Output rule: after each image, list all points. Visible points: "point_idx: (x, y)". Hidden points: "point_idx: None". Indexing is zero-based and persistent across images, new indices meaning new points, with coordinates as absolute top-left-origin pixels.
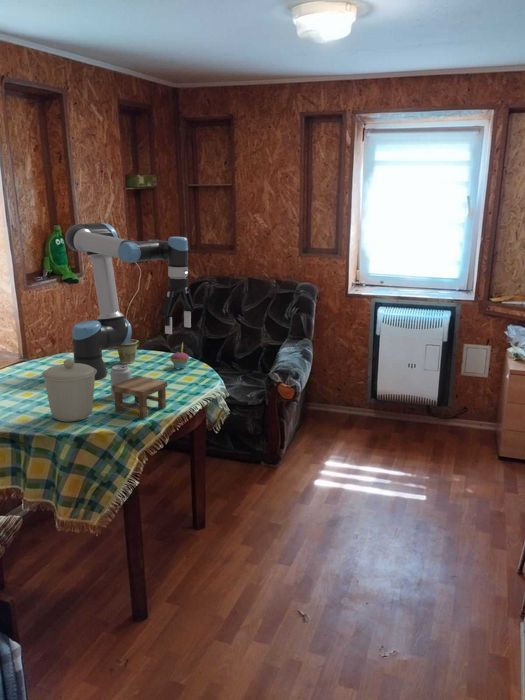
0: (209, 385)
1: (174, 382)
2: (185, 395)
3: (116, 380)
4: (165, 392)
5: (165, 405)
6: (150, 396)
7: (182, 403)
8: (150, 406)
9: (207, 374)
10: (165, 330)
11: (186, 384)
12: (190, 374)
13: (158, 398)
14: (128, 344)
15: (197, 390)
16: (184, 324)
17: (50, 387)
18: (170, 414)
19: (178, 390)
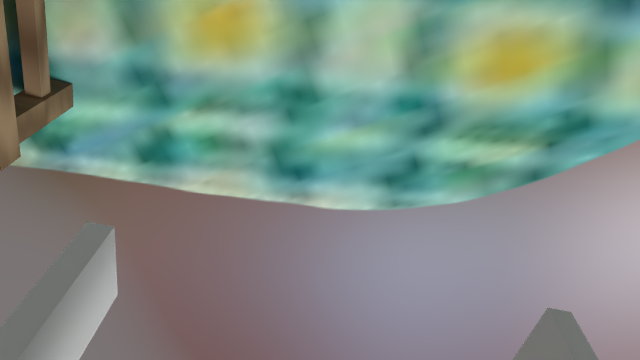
0: (420, 186)
1: (434, 4)
2: (251, 132)
3: None
4: (30, 135)
5: (66, 108)
6: (22, 42)
7: (151, 153)
8: None
9: (606, 129)
10: (65, 254)
11: (412, 82)
12: (605, 40)
13: (18, 96)
14: None
15: (335, 159)
16: (559, 338)
17: None
18: None
19: (307, 77)
